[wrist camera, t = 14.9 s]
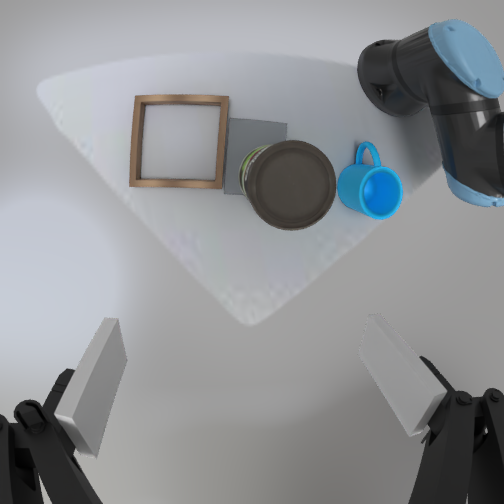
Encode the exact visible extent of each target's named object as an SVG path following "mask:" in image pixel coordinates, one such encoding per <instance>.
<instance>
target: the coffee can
mask: <svg viewBox="0 0 504 504" xmlns="http://www.w3.org/2000/svg"><path fill="white" fill-rule="evenodd" d="M238 178H239V185H240V188H241V190H242V192H243V194H244V195H245V196H246V198H247V199H248V200H249V201H250V203H251V205H252V207H253V208H254V210H255V212H256V213H257V214H258V215H259V217H261V218H262V219H263V220H264V221H265V222H266V223H268V224H269V225H271V226H273V227H276V228H278V229H283V230H300V229H304V228H307V227H310V226H312V225H314V224H315V223H317V222H318V221H319V220H321V219H322V218H323V217H324V216H325V215H326V213H327V212H328V211H329V209H330V207H331V205H332V203H333V201H334V198H335V193H336V177H335V172H334V169H333V167H332V165H331V163H330V161H329V159H328V158H327V157H326V155H325V154H324V153H323V152H322V151H320V150H319V149H318V148H316V147H315V146H313V145H311V144H309V143H306V142H303V141H297V140H289V141H282V142H279V143H276V144H272V145H263V146H260V147H257V148H255V149H254V150H252V151H251V152H250V153H248V154H247V155H246V157H245V158H244V159H243V161H242V163H241V166H240V169H239V176H238Z"/></svg>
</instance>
